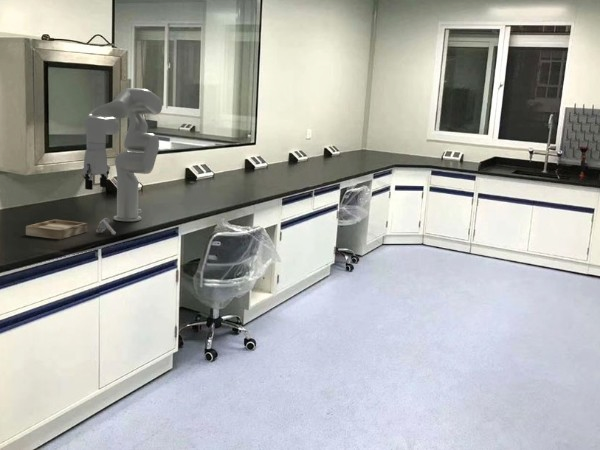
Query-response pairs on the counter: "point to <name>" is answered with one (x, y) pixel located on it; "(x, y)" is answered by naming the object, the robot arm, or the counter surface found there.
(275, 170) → the counter surface
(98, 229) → the stand
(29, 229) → the beech platter
